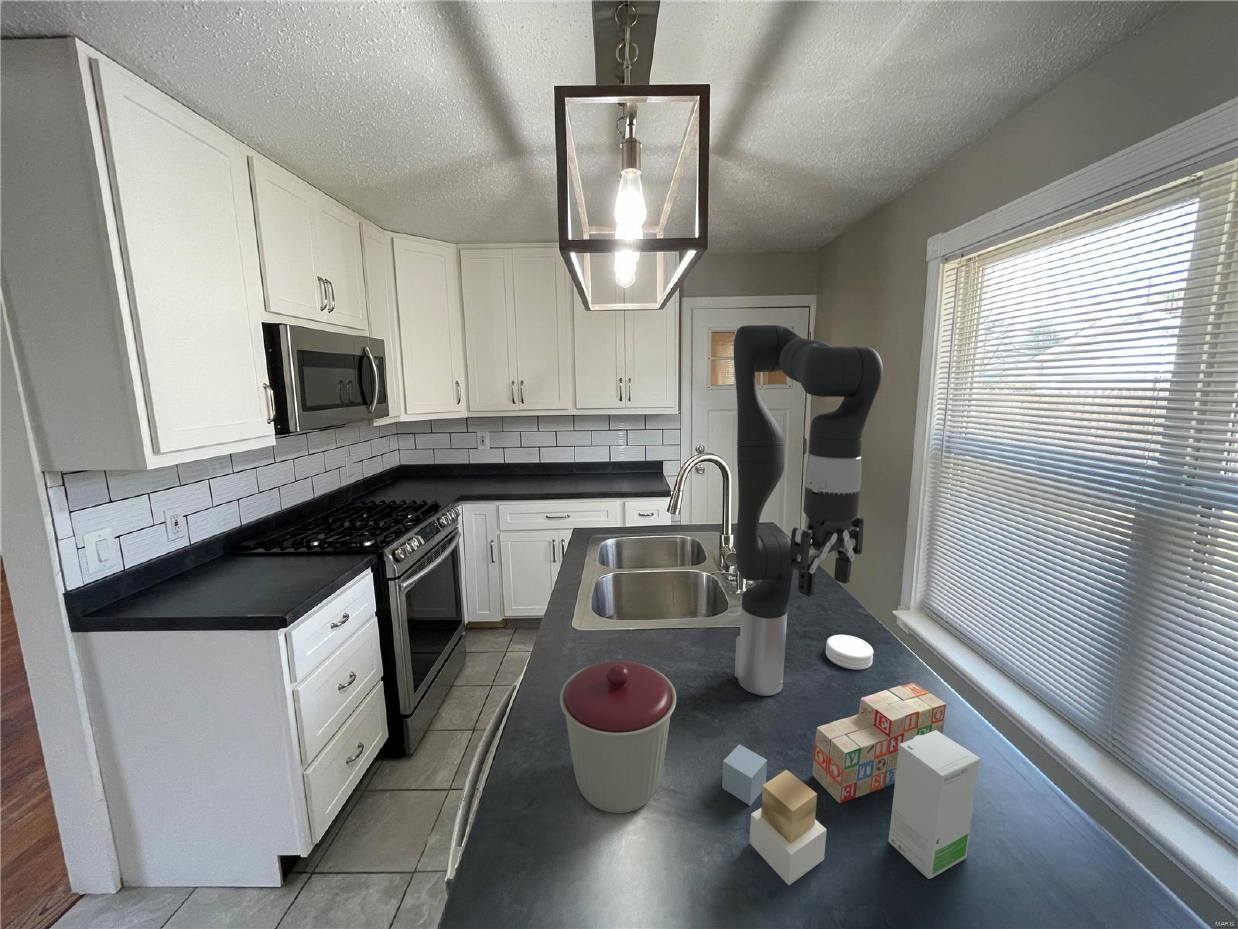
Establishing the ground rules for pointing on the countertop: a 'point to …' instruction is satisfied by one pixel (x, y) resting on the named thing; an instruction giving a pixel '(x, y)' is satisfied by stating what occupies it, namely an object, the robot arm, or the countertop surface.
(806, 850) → the base block
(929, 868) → the skincare box
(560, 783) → the countertop surface
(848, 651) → the white thick disc
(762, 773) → the slate cube
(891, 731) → the stack of blocks
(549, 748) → the countertop surface
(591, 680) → the canister
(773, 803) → the maple cube
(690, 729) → the countertop surface
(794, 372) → the robot arm
